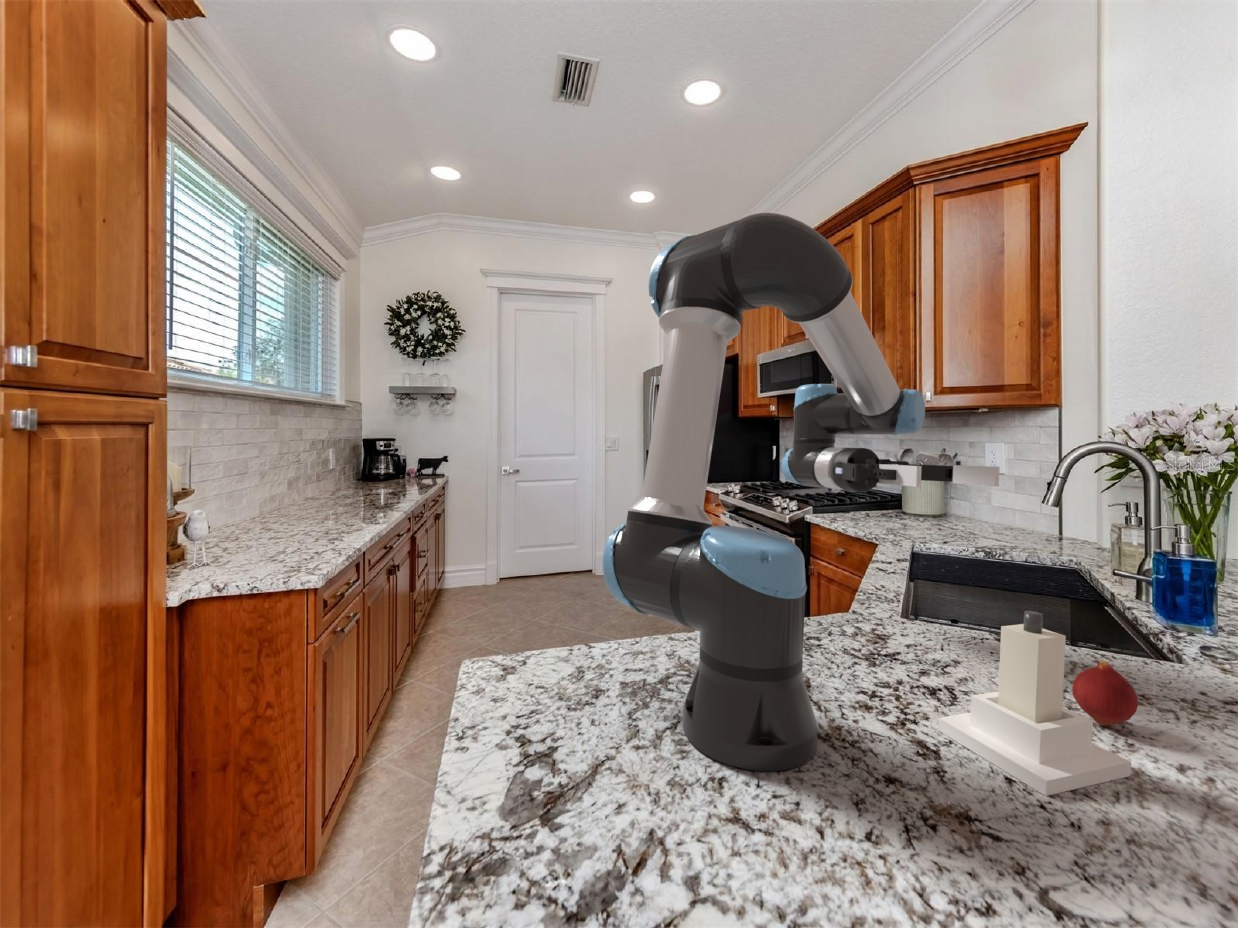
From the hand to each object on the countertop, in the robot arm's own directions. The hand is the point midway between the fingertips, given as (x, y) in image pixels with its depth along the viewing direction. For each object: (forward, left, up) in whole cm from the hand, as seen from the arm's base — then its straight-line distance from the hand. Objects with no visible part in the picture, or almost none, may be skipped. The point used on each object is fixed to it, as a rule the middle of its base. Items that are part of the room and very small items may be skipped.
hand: (959, 476), depth 70 cm
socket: (+9, -9, -30) cm, 33 cm away
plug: (+9, -9, -28) cm, 31 cm away
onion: (+15, +5, -30) cm, 34 cm away
